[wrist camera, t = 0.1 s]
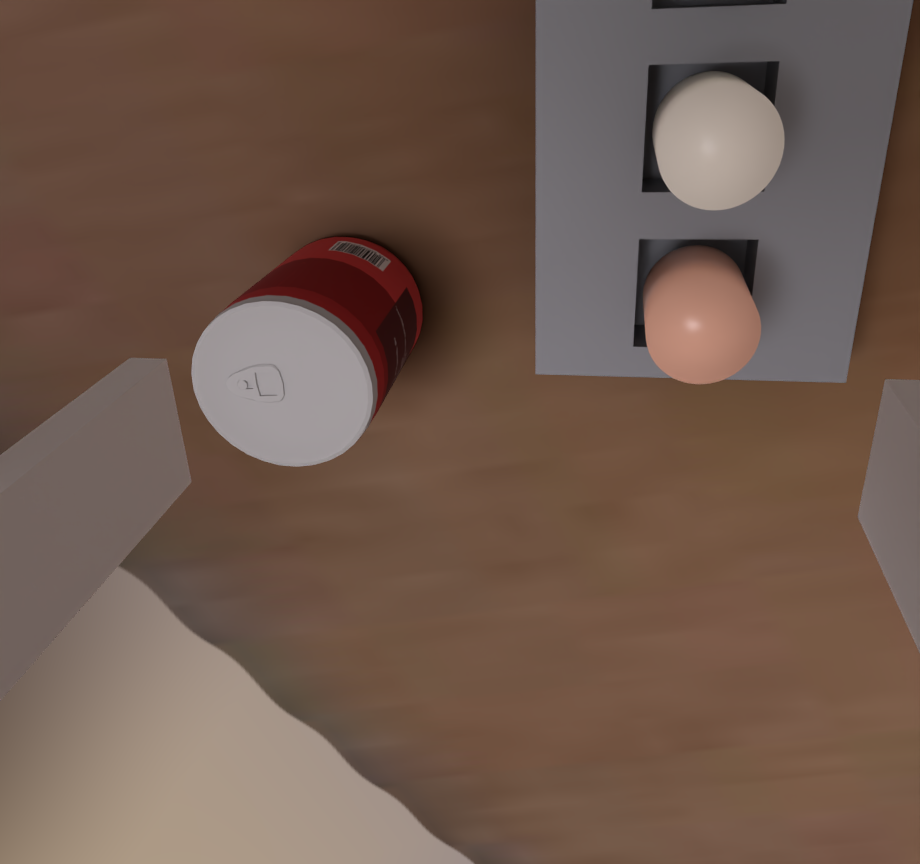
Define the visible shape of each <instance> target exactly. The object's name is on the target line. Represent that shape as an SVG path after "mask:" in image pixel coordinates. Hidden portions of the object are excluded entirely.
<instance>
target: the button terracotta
mask: <svg viewBox="0 0 920 864" xmlns="http://www.w3.org/2000/svg"><path fill="white" fill-rule="evenodd" d="M643 308H644V321H645V334H646V343H647V347H648V351H649V353H650V355H651V357H652V359H653V361H654V362H655V364H656V365H657V366H658V367H659V368H660V369H661V370H662V371H663V372H664V373H666V374H667V375H669V376H670V377H672V378H674V379H676V380H679V381H682V382H686V383H691V384H708V383H714V382H718V381H721V380H724V379H726V378H728V377H730V376H732V375H734V374H735V373H737V372H738V371H739V370H741V369H742V368H743V367H744V366H745V365H746V364H747V363H748V362H749V361H750V359H751V358H752V356H753V355H754V353H755V351H756V349H757V347H758V344H759V341H760V336H761V320H760V316H759V313H758V310H757V308H756V305H755V303H754V301H753V299H752V296H751V294H750V292H749V289H748V287H747V285H746V282H745V280H744V278H743V276H742V273H741V271H740V269H739V267H738V266H737V264H736V263H735V262H734V261H733V259H731V258H730V257H729V256H728V255H727V254H725V253H724V252H722V251H720V250H718V249H716V248H713V247H709V246H704V245H690V246H685V247H681V248H678V249H676V250H673V251H671V252H669V253H668V254H666V255H665V256H663V257H662V258H661V259H660V260H659V261H658V262H657V263H656V264H655V265H654V266H653V267H652V269H651V270H650V272H649V274H648V275H647V278H646V280H645V284H644V287H643Z"/></svg>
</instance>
